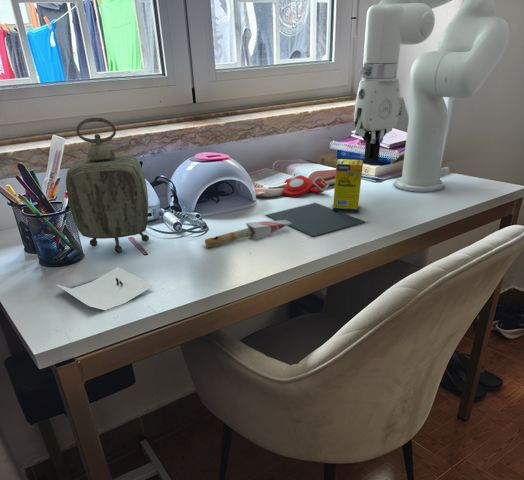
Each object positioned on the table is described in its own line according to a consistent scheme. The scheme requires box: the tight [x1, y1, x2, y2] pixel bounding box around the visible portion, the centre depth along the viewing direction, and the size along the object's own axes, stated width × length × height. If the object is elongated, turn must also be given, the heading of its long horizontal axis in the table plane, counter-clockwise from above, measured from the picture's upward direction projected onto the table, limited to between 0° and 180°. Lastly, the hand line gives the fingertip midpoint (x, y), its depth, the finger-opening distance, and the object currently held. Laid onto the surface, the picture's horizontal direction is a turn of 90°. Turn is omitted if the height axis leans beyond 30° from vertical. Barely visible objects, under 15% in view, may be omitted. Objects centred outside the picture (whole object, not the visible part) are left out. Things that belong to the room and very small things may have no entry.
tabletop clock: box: [65, 117, 150, 254], centre depth 96 cm, size 14×9×25 cm, turn 100°
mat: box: [265, 202, 366, 238], centre depth 116 cm, size 15×18×1 cm
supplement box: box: [332, 158, 364, 213], centre depth 118 cm, size 6×6×11 cm
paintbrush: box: [204, 220, 292, 249], centre depth 106 cm, size 4×3×20 cm
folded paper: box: [55, 266, 154, 311], centre depth 86 cm, size 12×12×2 cm
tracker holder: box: [281, 174, 330, 198], centre depth 133 cm, size 12×4×10 cm
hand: (371, 160), depth 119 cm, fingers closed
